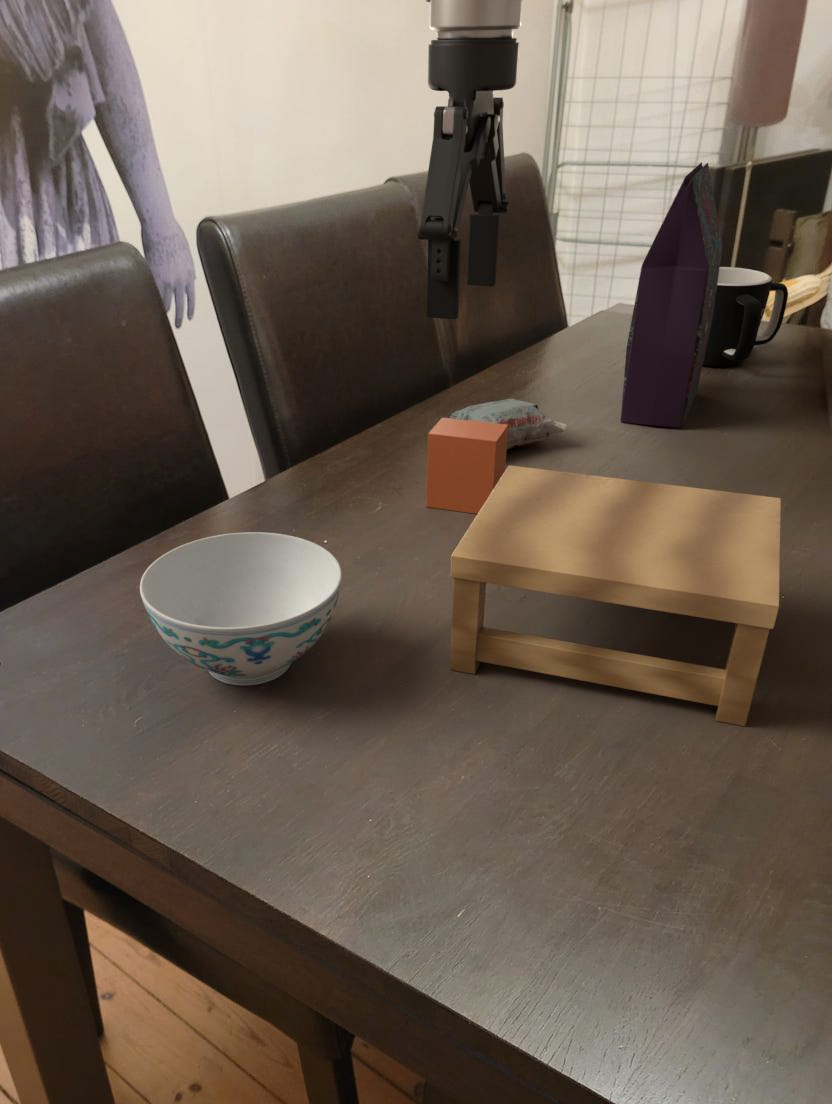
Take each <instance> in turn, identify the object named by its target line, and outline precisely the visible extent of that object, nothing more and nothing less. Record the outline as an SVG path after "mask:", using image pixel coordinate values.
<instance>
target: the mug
mask: <svg viewBox="0 0 832 1104" xmlns="http://www.w3.org/2000/svg"><path fill="white" fill-rule="evenodd" d="M770 292H775V293H774V300H773V305H772V310H771V314H770V318H769V321H768V324H767V326H766V327H765V329H764V330H763V332H762V333H761V334H759V333H758V332H759V329H760V327H761V323H762V321H763V317H764V315H765V312H766V307H767V304H768V300H769V297H770ZM788 299H789V291H788V286H786V284H784V283H782V282H773V278H772V276H771V275H769V274H768V273H766V272H762V271H760V270H755V269H750V268H743V267H734V266H733V267H732V266H720V268H719V275H718V282H717V290H716V297H715V304H714V311H713V319H712V325H711V329H710V334H709V339H708V343H707V348H706V352H705V357H704V362H703V366H704V365H707V366H706V367H715V366H720V367H731V365H732V366H735V365H739V364H741V363H743V362H744V361H745V360H746V359H748V358H749V357H750V356H751V354H752V352H753V350H754V348H755V346H761V345H766V344H769V342H771V341H772V340H773V339H774V338H775V337H776V336H777V334H778V332H779V330H780V329H781V326H782V323H783V320H784V317H785V312H786V308H787V303H788Z"/></svg>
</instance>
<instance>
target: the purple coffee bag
mask: <svg viewBox="0 0 832 1104" xmlns="http://www.w3.org/2000/svg"><path fill="white" fill-rule="evenodd" d="M722 252H723V241H722V234H721V229H720V224H719V218H718V212H717V207H716V201H715V195H714V189H713V184H712V178H711V172H710V166H709V162H706V163H705V164H704V165H703V162H700V163H699V164H697V166H695V167H694V168H693V169H692V170H691V171H690V172H689V173H687V175H685V176H684V179H683V181H682V182H681V184H680V187H678V191H677V193H676V195H675V196H674V198H673V200H672V203H671V205H670V207H669V209H668V211H667V213H666V215H665V217H664V219H663V221H662V223H661V225H660V227H659V229H658V230H657V233H656V235H655V237H654V239H653V241H652V244H651V245H650V248H649V250H648V251H647V254H646V255H645V258H644V259H643V261H642V263H641V267H640V273H639V277H638V284H637V288H636V294H635V300H634V305H633V310H632V315H631V320H630V327H629V332H628V338H627V343H626V350H625V364H624V374H623V385H622V387H623V388H622V399H621V412H620V422H621V423H627V424H636V425H643V426H644V425H645V426H650V427H651V426H652V427H658V428H659V427H660V428H669V429H677V430H681V429H682V428H683V425H684V424H685V421H686V419H687V417H688V413H689V411H690V409H691V407H692V404H693V402H694V399H695V397H696V395H697V392H698V390H699V389H698V388H699V384H700V381H701V380H700V379H701V375H702V371H703V367H704V365H703V362H704V357H705V352H706V348H707V343H708V339H709V334H710V329H711V325H712V319H713V311H714V304H715V297H716V290H717V282H718V275H719V268H720V267H721V259H722V254H723V253H722Z"/></svg>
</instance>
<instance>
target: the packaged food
mask: <svg viewBox="0 0 832 1104" xmlns="http://www.w3.org/2000/svg"><path fill="white" fill-rule="evenodd" d="M449 418H451V419H460V420H470V421H479V422H488V423H497V424H507V425H508V436H507V450H509V449H510V450H511V449H516V448H522V447H525V446H528V445H531V444H534V443H538V442H542V441H546V440H548V439H551V437H553V436H556V435H558V434H560V433H563V432H564V431H566V429H567V424H565V423H563V422H558V421H556V420H553V419H551V417H549V416H548V415H546V414H545V413H544V412H543V411H541V410H540V409H539V405H538V404H536V403H532V402H528V401H523V400H520V399H516V398H505V399H501V400H495V401H488V402H483V403H479V404H473V405H468V406H466V407H464V408H461V409H458V410H456V411H454V412H453V413H451V414H450V416H449Z"/></svg>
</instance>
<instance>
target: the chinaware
mask: <svg viewBox="0 0 832 1104" xmlns="http://www.w3.org/2000/svg"><path fill="white" fill-rule="evenodd" d="M342 578H343V573H342V569H341V565H340V563H339V562H338V560H337V558H336V557H335V556H334V555H333V554H332V553H331V552H330V551H328V550H327V549H325V548H324V547H323V546H321V545H319V544H317V543H315V542H312V541H310V540H307V539H305V538H302V537H297V536H293V535H289V534H285V533H284V534H282V533H275V532H264V531H248V532H247V531H245V532H232V533H224V534H223V533H222V534H217V535H212V536H207V537H203V538H200V539H196V540H192V541H190V542H186V543H184V544H182V545H180V546H177V547H175V548H173V549H171V550H169V551H167V552H166V553H164V554H162V555H161V556H160V557H158V558H156V559H155V560H154V561H153V562H152V563H151V564H150V565H149V566H148V567H147V568H146V570H145V571H144V573H143V574H142V576H141V578H140V583H139V594H140V597H141V601H142V603H143V606H144V608H145V610H146V613H147V615H148V617H149V619H150V621H151V623H152V624H153V626H154V628H155V629H156V631H157V632H158V634H159V636H160V637H161V638H162V639H163V640H164V642H165V643H166V644H167V645H168V646H169V647H170V648H171V649H172V650H173V651H174V652H175V653H177V654H178V655H179V656H180V657H182V658H183V659H184V660H186V661H188V662H189V663H191V664H192V665H194V666H196V667H197V668H201V669H202V670H205V671H208V673H209V674H210V675H211V677H213V679H216V680H218V681H219V682H221V683H224V684H228V685H233V686H257V685H262V684H265V683H268V682H271V681H273V680H275V679H277V678H280V676H282V675H284V673H286V672H287V671H288V670H289V668H290V666H291V664H292V663H293V662H295V661H297V660H298V659H299V658H301V657H302V656H303V655H304V654H306V653H307V652H308V651H309V650H311V648H312V647H313V646H314V645H315V644H316V643H317V641H318V640H319V638H321V636H322V635H323V633H324V632H325V630H326V629H327V627H328V625H329V624H330V621H331V620H332V617H333V615H334V612H335V609H336V606H337V604H338V600H339V596H340V593H341V586H342V581H343V580H342Z"/></svg>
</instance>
